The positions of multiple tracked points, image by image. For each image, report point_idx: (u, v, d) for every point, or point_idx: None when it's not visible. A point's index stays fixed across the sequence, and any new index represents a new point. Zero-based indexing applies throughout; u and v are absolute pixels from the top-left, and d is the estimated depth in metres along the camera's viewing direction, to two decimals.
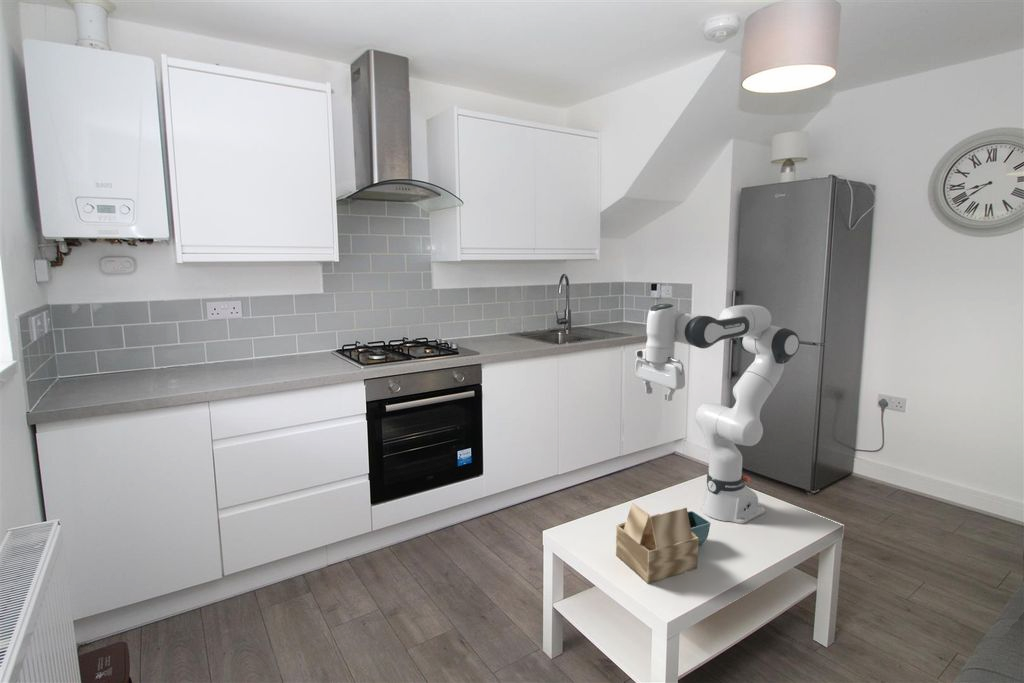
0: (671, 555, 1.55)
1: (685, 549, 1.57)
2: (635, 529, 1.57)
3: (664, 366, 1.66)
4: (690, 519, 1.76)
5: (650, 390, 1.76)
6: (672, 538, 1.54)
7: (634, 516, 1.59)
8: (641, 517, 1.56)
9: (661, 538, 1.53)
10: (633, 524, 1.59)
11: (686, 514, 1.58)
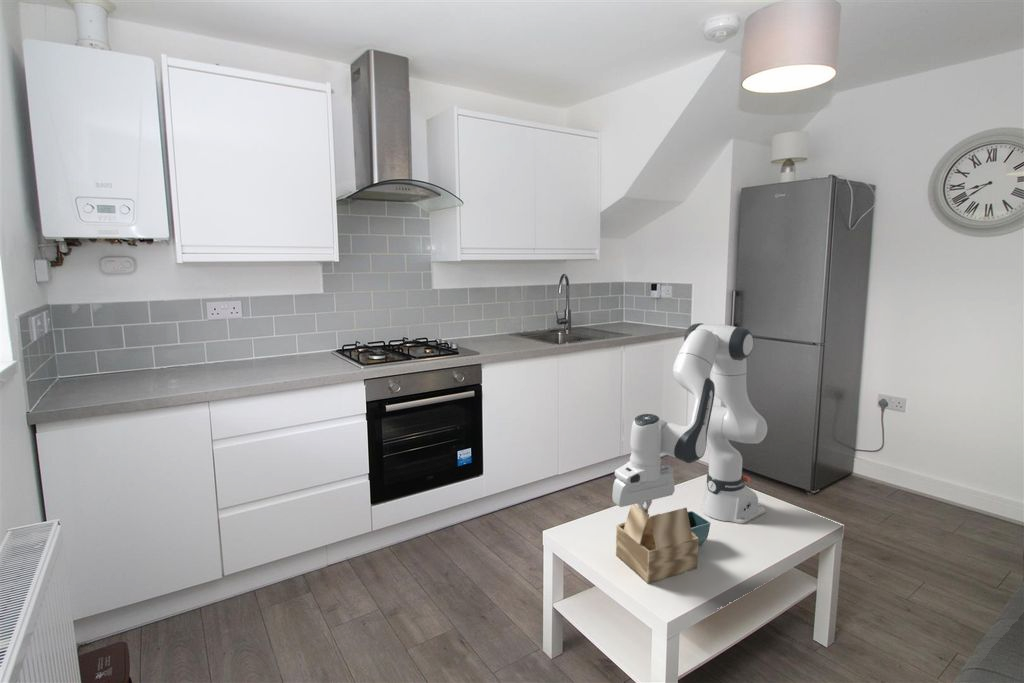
0: (671, 555, 1.55)
1: (685, 549, 1.57)
2: (635, 529, 1.57)
3: (660, 478, 1.57)
4: (690, 519, 1.76)
5: None
6: (672, 538, 1.54)
7: (634, 516, 1.59)
8: (641, 517, 1.56)
9: (661, 538, 1.53)
10: (633, 524, 1.59)
11: (686, 514, 1.58)
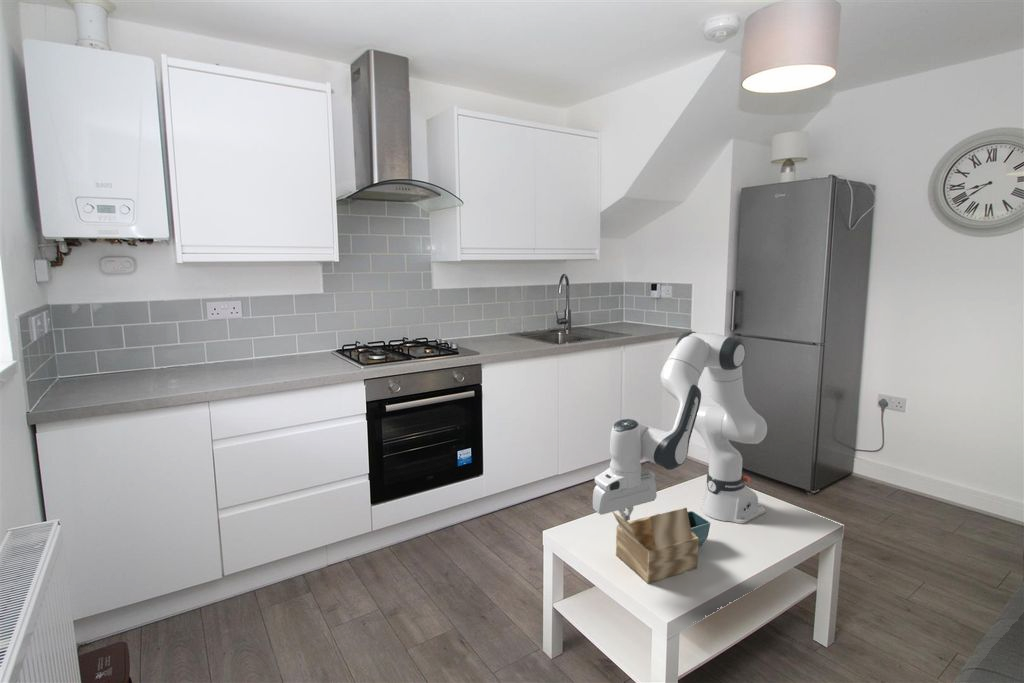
0: (671, 555, 1.55)
1: (685, 549, 1.57)
2: (628, 532, 1.57)
3: (641, 484, 1.54)
4: (690, 519, 1.76)
5: None
6: (672, 538, 1.54)
7: (620, 522, 1.57)
8: (625, 524, 1.54)
9: (661, 538, 1.53)
10: (624, 528, 1.58)
11: (686, 514, 1.58)
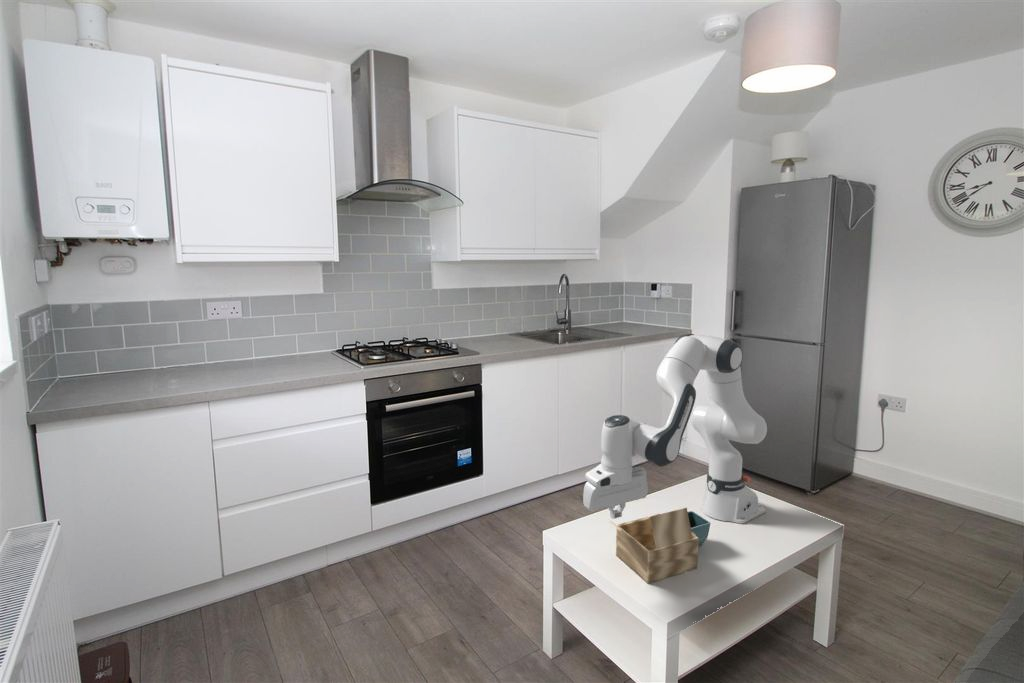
0: (671, 555, 1.55)
1: (685, 549, 1.57)
2: None
3: (632, 480, 1.53)
4: (690, 519, 1.76)
5: None
6: (672, 538, 1.54)
7: (616, 527, 1.57)
8: None
9: (661, 538, 1.53)
10: None
11: (686, 514, 1.58)
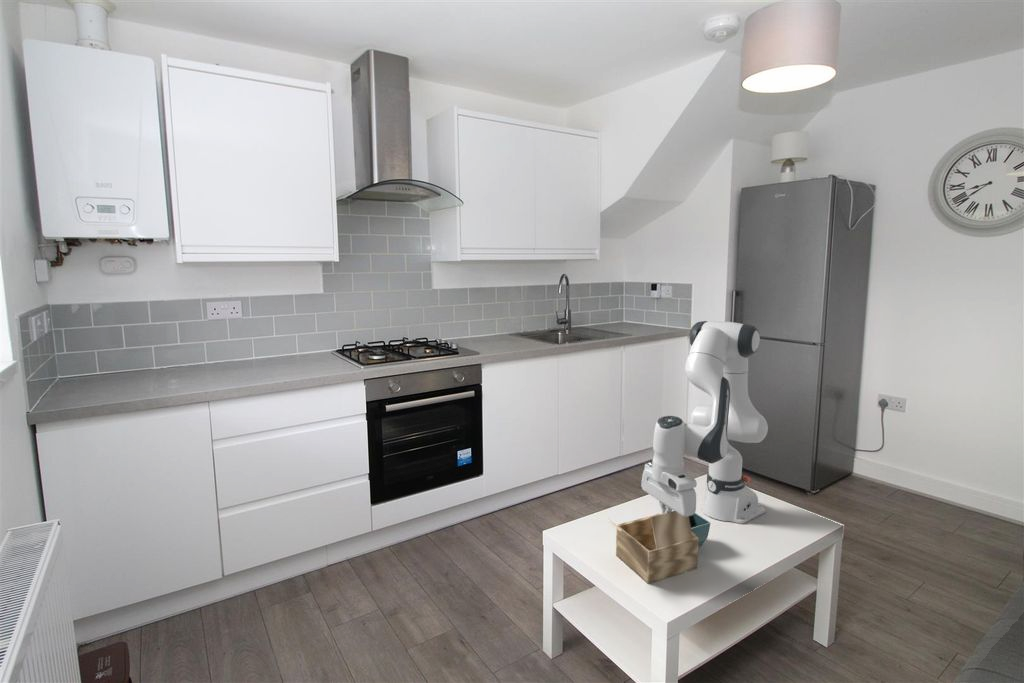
0: (671, 555, 1.55)
1: (685, 549, 1.57)
2: None
3: None
4: (690, 519, 1.76)
5: None
6: (672, 538, 1.54)
7: (616, 527, 1.57)
8: None
9: (661, 538, 1.53)
10: None
11: None
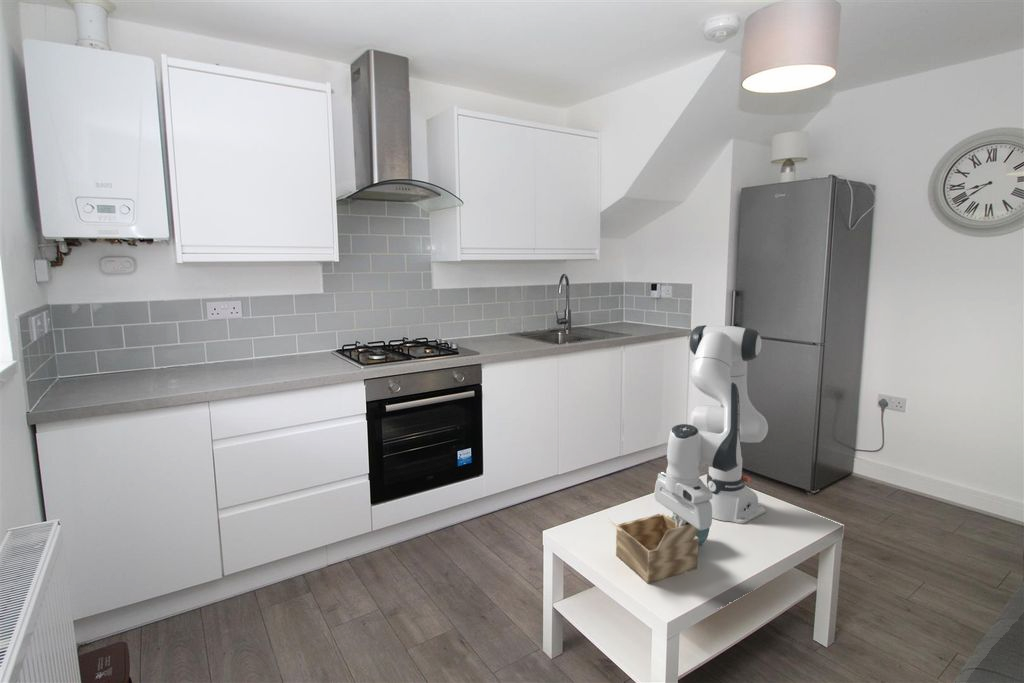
0: (671, 555, 1.55)
1: (685, 549, 1.57)
2: None
3: None
4: None
5: None
6: (675, 542, 1.53)
7: (616, 527, 1.57)
8: None
9: (665, 543, 1.51)
10: None
11: None
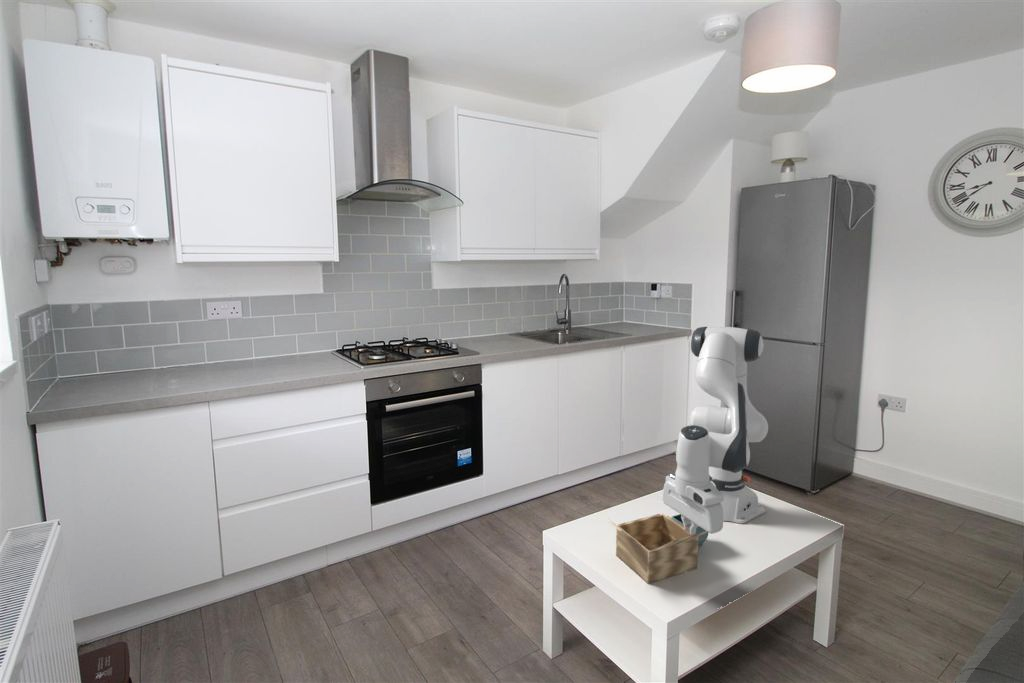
0: (671, 555, 1.55)
1: (685, 549, 1.57)
2: None
3: None
4: None
5: None
6: (676, 544, 1.53)
7: (616, 527, 1.57)
8: None
9: (667, 546, 1.51)
10: None
11: None
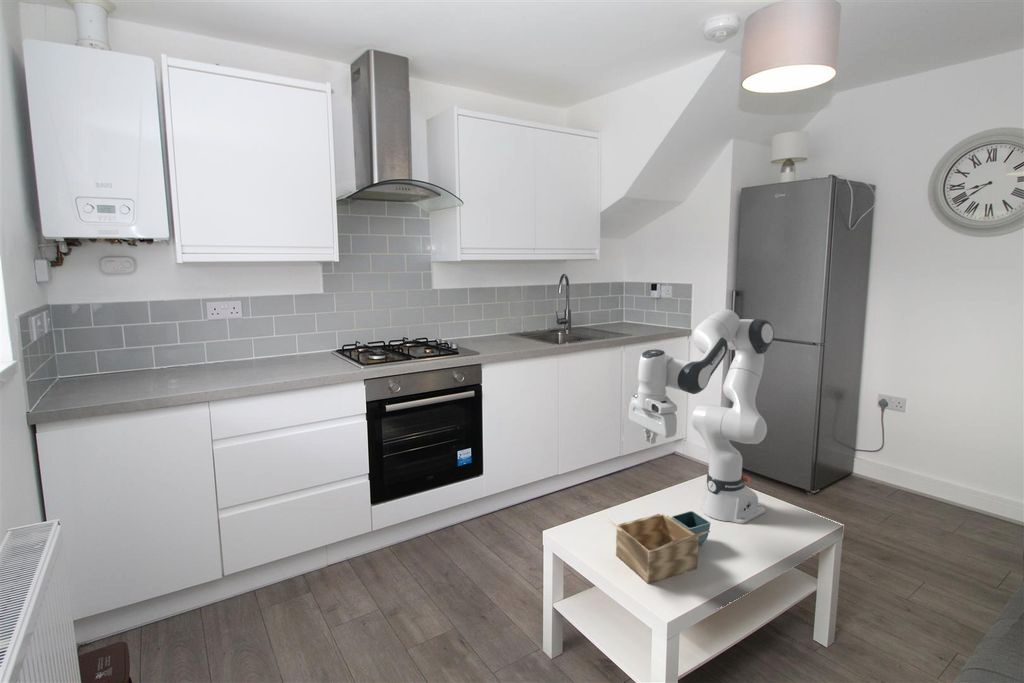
0: (671, 555, 1.55)
1: (685, 549, 1.57)
2: None
3: None
4: (690, 519, 1.76)
5: None
6: (676, 544, 1.53)
7: (616, 527, 1.57)
8: None
9: (667, 546, 1.51)
10: None
11: None
